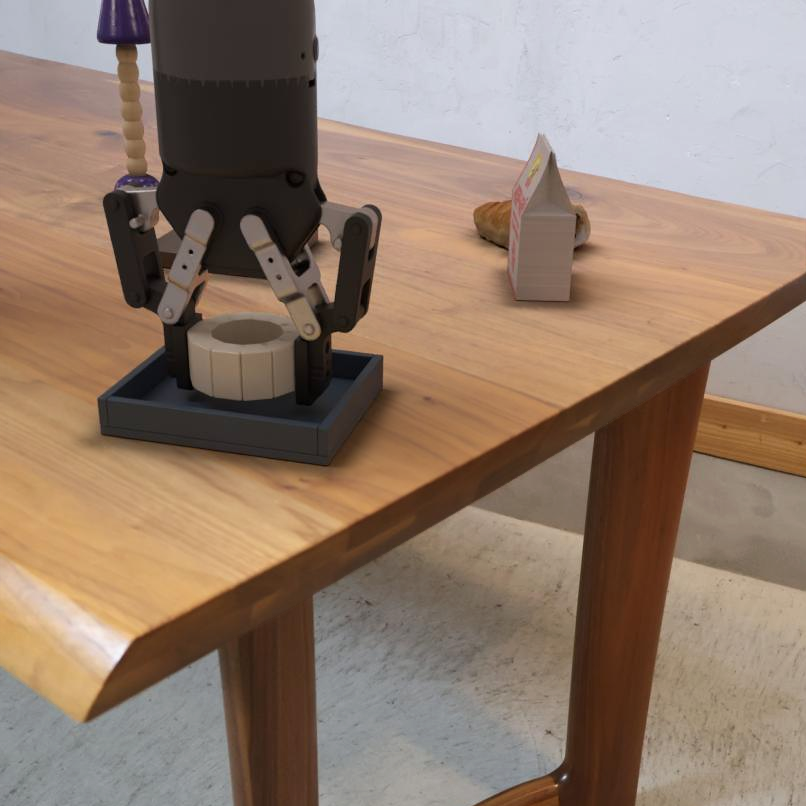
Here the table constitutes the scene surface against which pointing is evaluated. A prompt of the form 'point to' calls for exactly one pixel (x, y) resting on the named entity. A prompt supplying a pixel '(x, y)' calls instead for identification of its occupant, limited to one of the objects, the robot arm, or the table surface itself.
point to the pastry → (496, 222)
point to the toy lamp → (128, 77)
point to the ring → (243, 355)
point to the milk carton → (541, 230)
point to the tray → (243, 412)
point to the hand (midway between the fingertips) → (250, 391)
